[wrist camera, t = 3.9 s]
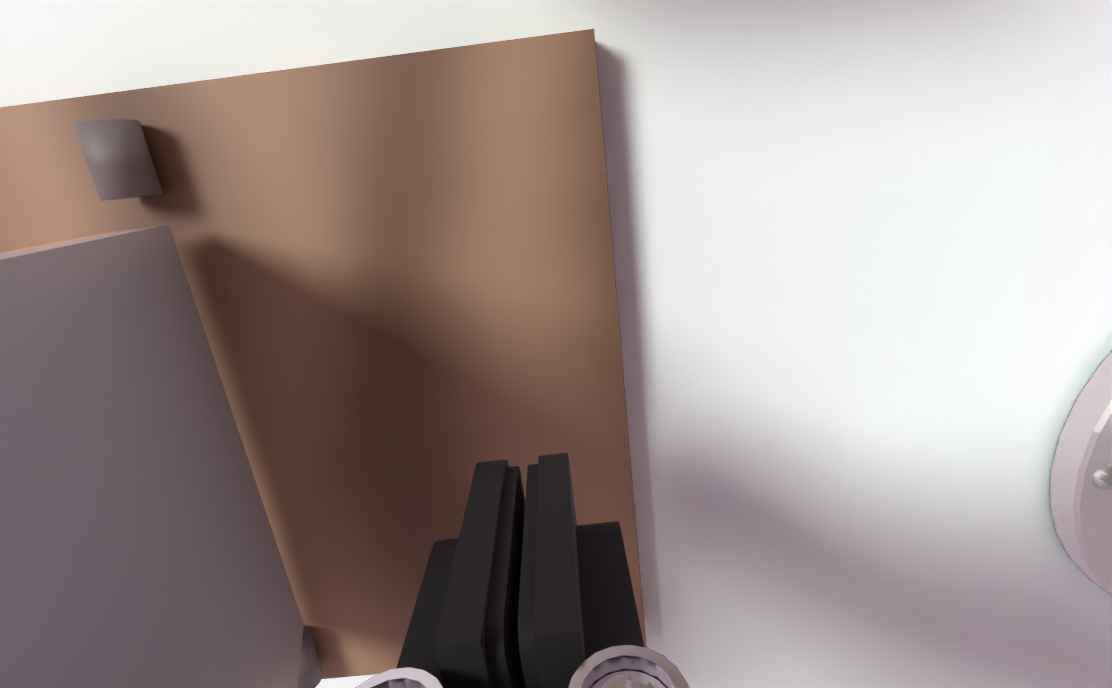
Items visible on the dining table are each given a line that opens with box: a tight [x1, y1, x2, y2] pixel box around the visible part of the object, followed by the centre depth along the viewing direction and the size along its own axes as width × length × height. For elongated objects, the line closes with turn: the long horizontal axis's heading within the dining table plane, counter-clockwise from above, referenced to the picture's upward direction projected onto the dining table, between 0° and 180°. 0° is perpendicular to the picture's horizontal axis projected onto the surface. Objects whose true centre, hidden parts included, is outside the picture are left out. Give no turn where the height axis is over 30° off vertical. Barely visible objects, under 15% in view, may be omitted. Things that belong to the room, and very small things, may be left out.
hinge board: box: [0, 29, 646, 688], centre depth 15 cm, size 24×18×2 cm
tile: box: [0, 224, 304, 688], centre depth 10 cm, size 10×12×1 cm
